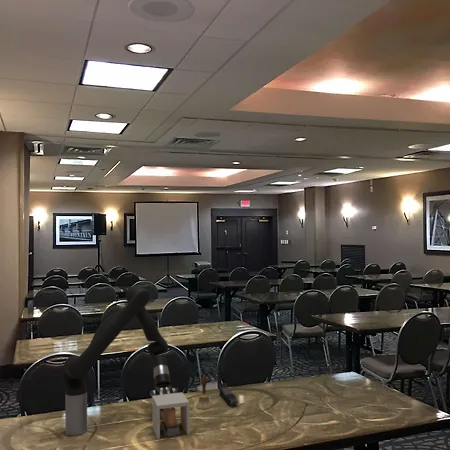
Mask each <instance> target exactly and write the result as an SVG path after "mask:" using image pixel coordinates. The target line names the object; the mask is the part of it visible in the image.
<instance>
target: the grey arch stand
mask: <svg viewBox="0 0 450 450" xmlns="http://www.w3.org/2000/svg"><path fill="white" fill-rule="evenodd" d="M151 401H152V404H151V405H152V406H151V407H152V409H151V410H152V411H151V412H152V415H151V416H152V423H151V424H152V429H153V431H154V434H155V437H156V439H157V440H160V439H161V430H162V433H163V435H164V437H174V436H180V435H181V434H182V433H181V429H180V427H179V425H178V424H177V422H176V421H175V425H176V428H169V429H167V428H165V426H164V425H165V424H164V423H161V422H160V421H161V418H160V417H161V411H160V409H164V408H172V407H174V408H179V407H180V411H179V413H180V415H179V416H180V425H181V427H182V428H183V430H184V431H185V433H186V435H190V434H191V433H190V430H191V429H190V401H189V400H188V398H187V397H186V396H185V394H184V393H183V392H178V393H172V394H164V395H156V394H155V396H152V398H151ZM160 429H161V430H160Z"/></svg>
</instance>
